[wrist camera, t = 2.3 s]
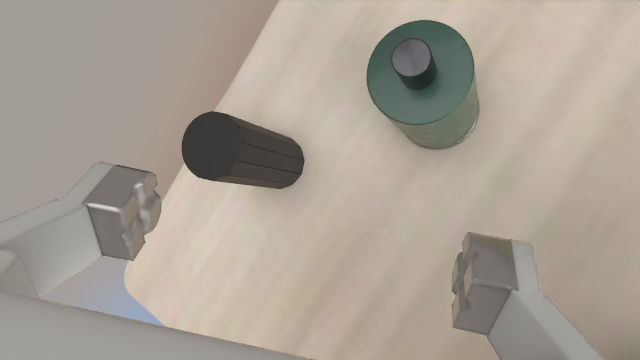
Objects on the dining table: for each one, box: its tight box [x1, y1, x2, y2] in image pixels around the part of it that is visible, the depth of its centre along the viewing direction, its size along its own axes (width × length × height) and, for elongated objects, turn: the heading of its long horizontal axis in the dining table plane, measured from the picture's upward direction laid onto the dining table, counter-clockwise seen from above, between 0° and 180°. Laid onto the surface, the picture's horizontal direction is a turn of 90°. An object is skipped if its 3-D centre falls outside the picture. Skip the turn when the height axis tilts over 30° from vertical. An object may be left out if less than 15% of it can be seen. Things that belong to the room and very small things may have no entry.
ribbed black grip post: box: [182, 111, 304, 189], centre depth 47 cm, size 6×6×14 cm
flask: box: [367, 20, 479, 150], centre depth 40 cm, size 8×8×18 cm
